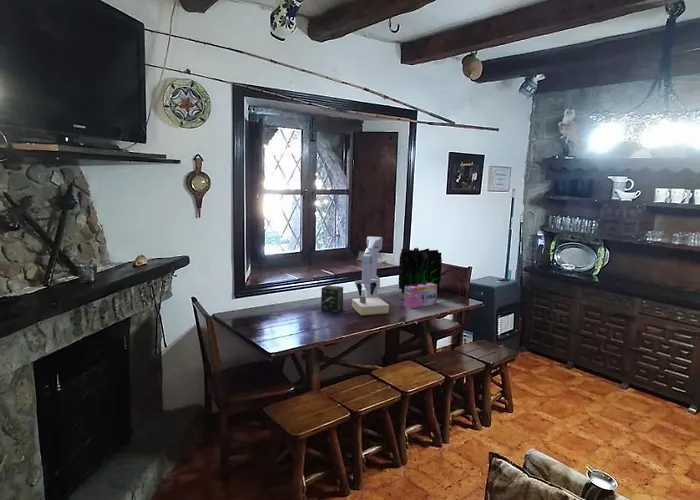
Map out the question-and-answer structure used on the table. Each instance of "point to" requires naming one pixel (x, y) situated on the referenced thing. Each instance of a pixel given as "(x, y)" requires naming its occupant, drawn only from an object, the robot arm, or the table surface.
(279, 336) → the table surface
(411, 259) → the decorative plant
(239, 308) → the table surface
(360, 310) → the beige wooden tray
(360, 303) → the lid
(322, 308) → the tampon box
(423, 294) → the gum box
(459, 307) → the table surface
